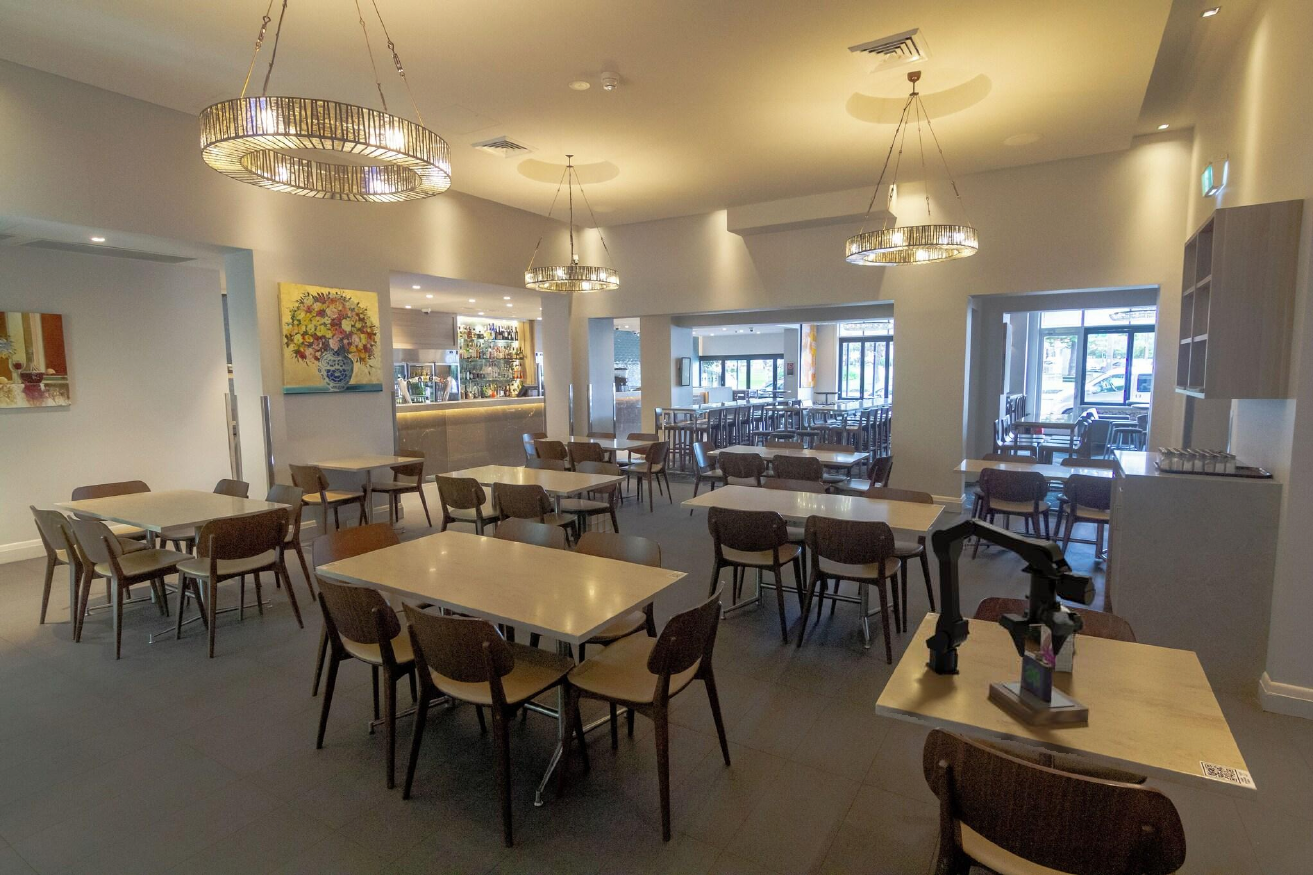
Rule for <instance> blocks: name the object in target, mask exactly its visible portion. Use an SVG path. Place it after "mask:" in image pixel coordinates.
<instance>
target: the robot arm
mask: <svg viewBox="0 0 1313 875" xmlns="http://www.w3.org/2000/svg"><path fill="white" fill-rule="evenodd" d="M930 536H931V537H930V543H931V547H932V551H933V553H934V555H935V557H936V558H937V560H938V574H939V575H938V576H939V577H938V578H939V595H940V596H939V601H940V602H939V603H940V613H939V616H938V618H937V621H936V623H935V629H934V635H931V636H930V637H928V638H927V639H926V640H925V643H926V644H925V645H926V648H927V649H929V659H928V662H925V665H926V666H927V667H928V668H929V669H931V670H932V671H933V672H935V674H937V675H948V674H950V675H951V674H960V670H959V669H958V665H959V662H958V661H959V653H958V649H957V648H959V647H960V646H961V645H962V643H964V642H965V641H966V640H967V639H968V636H969V635H970V628H969V624H970V621H969V619H965V618H963V616H962V614H961V610H960V606H961V605H960V583H959V582H960V580H959V559H960V557H961V554H962V552H963V549H964V542H965V540H967V539H971V537H973V536H974V537H976V538H978V539H981V540H982V541H983V540H984V541H985V542H988V543H991V544H993V545H996V546H998V547H1000V548H1004V549H1006V550H1008V551H1010V552H1013V553H1015V554H1016V555H1018V556H1019V557H1020V558H1021V560H1023V561H1025V562H1026V563H1028V564H1027V565H1026V566H1025V567H1023V568H1021V570H1020V572H1022V573H1025V574H1028V575H1029V574H1030V576H1029V577H1030V578H1029V589H1028V591H1029V593H1026V594H1025V596H1024V599H1026V600H1027V601H1028V604H1027V606H1028V610H1025V609H1024V612H1023V613H1024V615H1026V616H1028V618H1022V617H1023V616H1020V615H1018V614H1016V613H1002V614H1001V615H1000V616H999V618H998V626H1000V627H1002V628H1003V629H1005V630H1006V631H1007V632H1008V633H1009V635H1010V638H1011V639H1012V642H1013V644H1014V646H1015V648H1016V651H1017V653H1018V656H1019V657H1020V658H1022V657H1024V653H1025V652H1026V639H1027V638H1029V637H1028V636H1029V635H1030V634H1029V633H1027V632H1028V631H1029V628H1030V626H1047V627H1048V628H1049V629H1050V630H1051V639H1052V650H1053V654H1054V655H1058V654H1059V652H1060V650H1061V648H1062V646H1063V644H1064V643H1065V641H1066V639H1067V638H1068V636H1070V635H1072V634H1074V633H1076V634H1078V632H1079V631H1083V630H1084V621H1083V619H1082V618H1081V617H1082V616H1081V614H1080V613H1079V612H1078V611H1072V612H1070V613H1069V612H1067V611H1062V610H1061V604H1062V603H1061V600H1063V601H1067V602H1070V603H1074V604H1078V605H1082V606H1086V607H1090V606H1092V604H1093V602H1094V600H1095V597H1096V593H1097V592H1096V591H1097V590H1096V588H1095V584H1094V582H1093V576H1091V575H1087V574H1085V575H1084V574H1079V573H1074V571H1073V569H1072V566H1071V565H1070V564H1069V563H1068V561H1067V559H1066V558H1065V557H1064V552H1063V549H1062V548H1061V545H1059V544H1058V543H1056V542H1054V541H1050V540H1045V539H1041V538H1032V537H1031V538H1030V537H1025V536H1022V535H1020V534H1018V533H1015V532H1012V531H1010V530H1007V529H1004V528H1002V527H999V526H997V525H994V524H991V523H989V522H987V521H983V519H982V520H981V519H980V518H976V517H974V518H969V519H965V520H964V521H963V522H961V523H959V524H957V525H953V526H948V527H945V528H940V529H936V530H935V531H933V533H931V535H930ZM1055 566H1056V567H1055ZM1057 597H1059V598H1060V600H1058V599H1057ZM1060 603H1061V604H1060Z"/></svg>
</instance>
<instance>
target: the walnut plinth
mask: <svg viewBox="0 0 1313 875" xmlns="http://www.w3.org/2000/svg"><path fill="white" fill-rule="evenodd" d="M1020 683H1021V680H1016V681H1001V682H989V686H988V695H989V696H990V697H992V698H993V699H994V700H995V701H997V702H998V703H1000V704H1001V705H1003V706H1004V707H1005V708H1006V709H1008V710H1009V711H1010V712H1012V714H1015V715H1016V716H1017V717H1019V718H1020V719H1021V720H1023V721H1024V722H1025V723H1026V724H1028V725H1029V726H1039V725H1041V726H1043V725H1053V724H1054V725H1056V724H1069V723H1078V722H1088V721H1089V715H1090V714H1089V713H1090V712H1089V711H1090V708H1088V707H1087V706H1085V705H1084V704H1082V703H1081V702H1079V701H1077V700H1076V699H1074V698H1072V697H1071V696H1069V695H1067V694H1066V693H1065V692H1063V691H1061V689H1058V688H1057V687H1055V686H1054V685H1052V694H1051V703H1046V702H1043V701H1041V700H1040V699H1038V697H1035V695H1033V694H1031V693H1029V692H1028V691H1027V690H1025V689H1023V688H1022V687H1021V685H1020Z"/></svg>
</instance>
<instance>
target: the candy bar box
mask: <svg viewBox="0 0 1313 875" xmlns="http://www.w3.org/2000/svg"><path fill="white" fill-rule="evenodd" d="M1060 604H1061V610H1062V611H1067V612H1069V613H1070V611H1069V610H1068V609H1067V608H1068V607H1067V606H1065V604H1063V603H1062V602H1060ZM1066 607H1067V608H1066ZM1075 637H1076V634H1075V633H1074V634H1072V635H1070V636H1068V638H1067V639H1066V641H1065V643H1064V644H1063V646H1062V648H1061V650H1060V652H1059V654H1058V655H1054V654H1053V650H1052V639H1051V630H1050V629H1049V628H1048V627H1047V626H1042V627H1041V643H1039V644H1040V645H1039V646H1040V647H1039V652H1043V653H1042V656H1043V657H1044V660H1046V661H1048V662H1049V663H1050V664H1051V665H1052V666H1053V672H1058V673H1059V672H1060V673H1071V674H1072V673H1073V669H1074V668H1073V665H1074V654H1075V653H1074V652H1075Z"/></svg>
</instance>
